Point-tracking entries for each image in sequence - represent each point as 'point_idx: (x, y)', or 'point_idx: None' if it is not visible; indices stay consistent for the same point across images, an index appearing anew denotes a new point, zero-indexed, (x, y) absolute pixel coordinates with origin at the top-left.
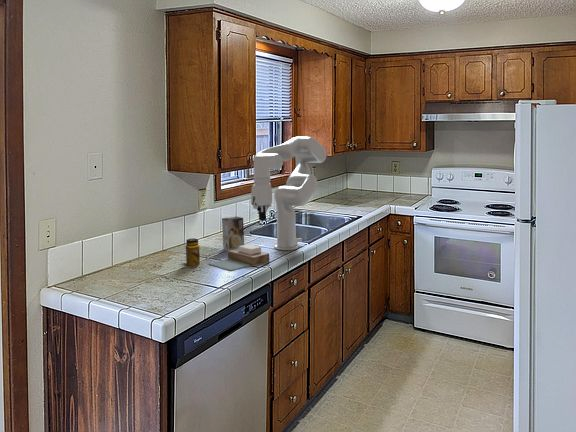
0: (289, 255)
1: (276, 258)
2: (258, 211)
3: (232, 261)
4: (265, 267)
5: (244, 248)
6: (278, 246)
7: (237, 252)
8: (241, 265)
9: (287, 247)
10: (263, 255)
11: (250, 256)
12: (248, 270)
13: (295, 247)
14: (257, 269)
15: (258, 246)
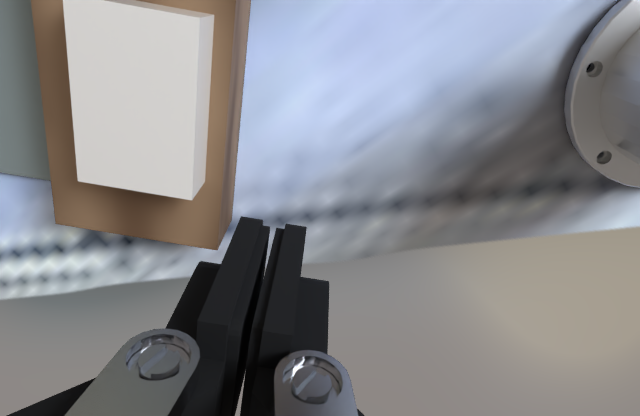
0: (445, 233)
1: (330, 207)
2: (139, 355)
3: (29, 9)
4: (125, 267)
5: (75, 88)
6: (620, 51)
7: (56, 13)
8: (19, 144)
9: (609, 140)
10: (161, 238)
11: (59, 193)
12: (10, 228)
13: (638, 187)
14: (63, 256)
15: (191, 171)
